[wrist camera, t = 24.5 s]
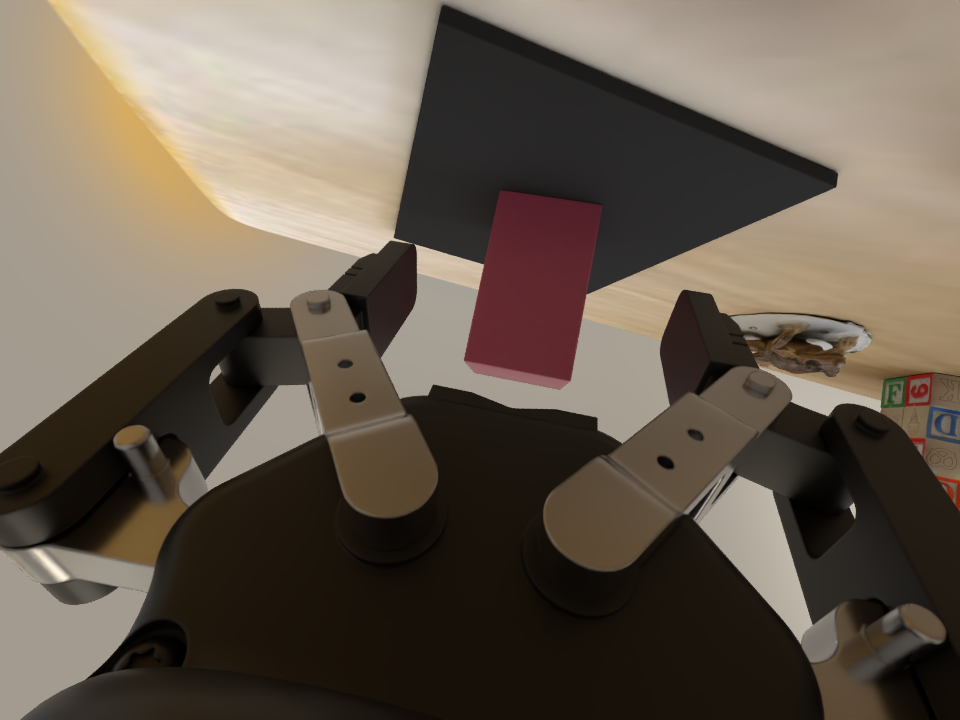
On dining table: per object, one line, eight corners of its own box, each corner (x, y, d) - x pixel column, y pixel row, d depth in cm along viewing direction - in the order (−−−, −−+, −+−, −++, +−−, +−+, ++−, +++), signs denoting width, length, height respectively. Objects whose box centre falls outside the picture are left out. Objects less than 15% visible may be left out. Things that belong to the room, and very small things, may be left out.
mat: (442, 4, 14) (438, 21, 14) (838, 173, 17) (837, 187, 17) (395, 230, 33) (393, 238, 33) (588, 287, 37) (586, 294, 37)
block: (500, 188, 23) (463, 360, 22) (602, 204, 22) (570, 381, 21) (503, 232, 28) (473, 372, 27) (586, 245, 27) (560, 390, 26)
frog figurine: (777, 301, 31) (771, 354, 31) (919, 339, 33) (914, 390, 33) (679, 327, 43) (673, 366, 42) (788, 355, 44) (783, 393, 44)
